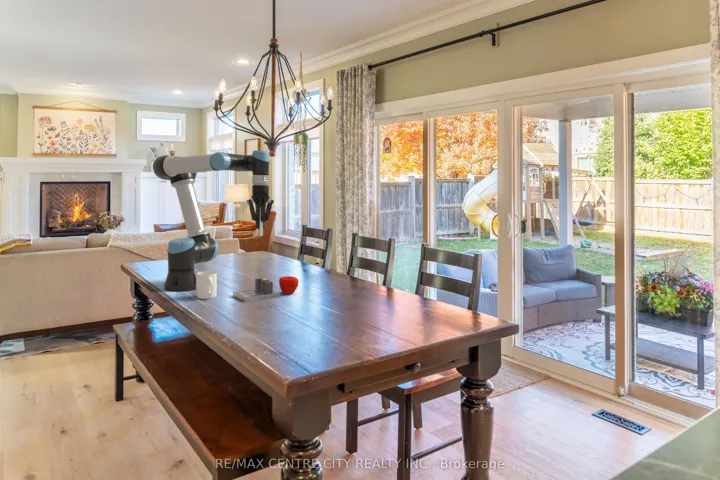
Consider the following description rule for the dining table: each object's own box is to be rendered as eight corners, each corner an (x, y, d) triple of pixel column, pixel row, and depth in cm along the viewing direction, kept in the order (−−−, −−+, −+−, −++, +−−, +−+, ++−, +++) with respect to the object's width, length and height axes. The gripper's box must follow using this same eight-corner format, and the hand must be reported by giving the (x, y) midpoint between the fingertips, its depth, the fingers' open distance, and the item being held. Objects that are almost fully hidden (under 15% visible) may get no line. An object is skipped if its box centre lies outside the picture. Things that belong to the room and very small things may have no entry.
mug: (201, 301, 206) (201, 276, 205) (193, 296, 216) (193, 272, 215) (221, 299, 211) (221, 275, 209) (213, 294, 220) (213, 270, 219)
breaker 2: (264, 292, 216) (264, 281, 216) (270, 292, 218) (270, 281, 218) (266, 293, 215) (266, 282, 214) (272, 293, 217) (272, 282, 216)
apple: (301, 292, 229) (302, 276, 228) (291, 296, 221) (291, 279, 220) (285, 290, 233) (286, 274, 232) (275, 294, 225) (275, 277, 224)
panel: (233, 296, 217) (233, 291, 217) (267, 292, 228) (267, 287, 228) (244, 301, 208) (244, 297, 208) (280, 297, 219) (280, 292, 218)
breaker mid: (260, 290, 220) (260, 279, 220) (266, 290, 222) (266, 278, 221) (262, 291, 219) (263, 279, 218) (268, 291, 220) (269, 279, 220)
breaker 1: (255, 289, 223) (255, 278, 223) (261, 288, 225) (261, 277, 225) (257, 290, 222) (257, 279, 221) (263, 289, 224) (263, 278, 223)
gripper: (251, 184, 216) (250, 237, 219) (277, 185, 224) (276, 236, 227) (243, 184, 222) (243, 235, 225) (269, 184, 230) (268, 234, 233)
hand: (260, 235), depth 226 cm, fingers closed
